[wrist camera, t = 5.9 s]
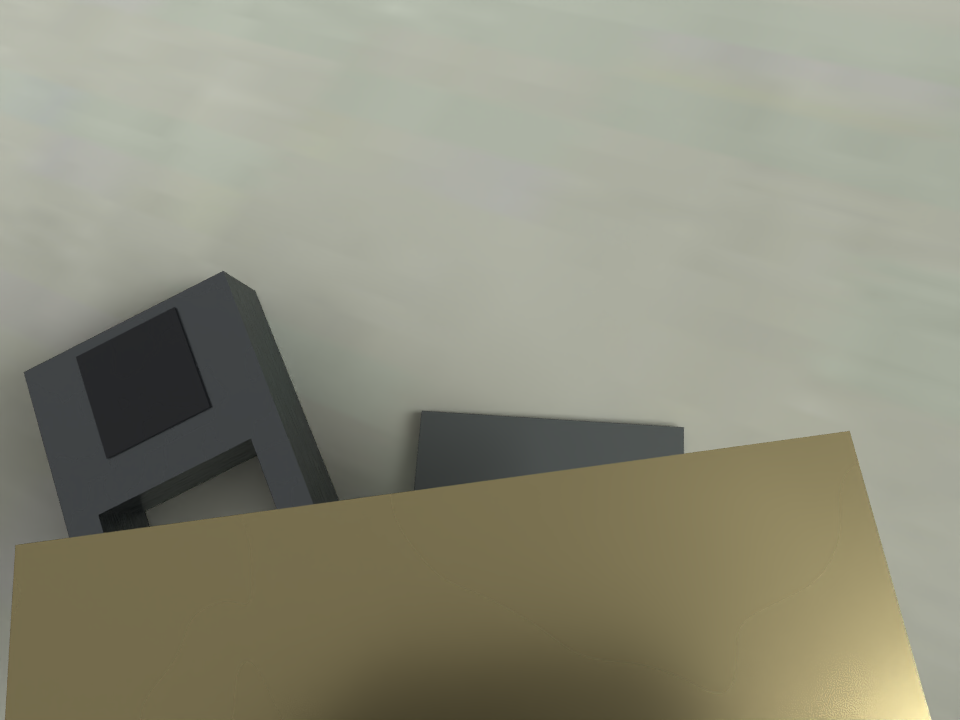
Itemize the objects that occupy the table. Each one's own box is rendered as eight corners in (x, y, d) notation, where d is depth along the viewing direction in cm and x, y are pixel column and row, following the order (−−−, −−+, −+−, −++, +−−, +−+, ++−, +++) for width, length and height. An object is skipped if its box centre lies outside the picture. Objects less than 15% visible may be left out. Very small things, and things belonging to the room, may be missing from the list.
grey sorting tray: (382, 611, 22) (360, 629, 19) (173, 714, 22) (124, 744, 19) (255, 291, 25) (221, 270, 23) (74, 382, 25) (21, 371, 23)
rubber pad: (679, 718, 20) (681, 723, 19) (398, 681, 21) (395, 685, 21) (681, 428, 22) (683, 427, 21) (423, 412, 23) (421, 410, 23)
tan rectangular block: (638, 656, 16) (1263, 1891, 2) (467, 674, 17) (-57, 1779, 2) (606, 480, 18) (848, 431, 3) (447, 501, 18) (16, 545, 4)
